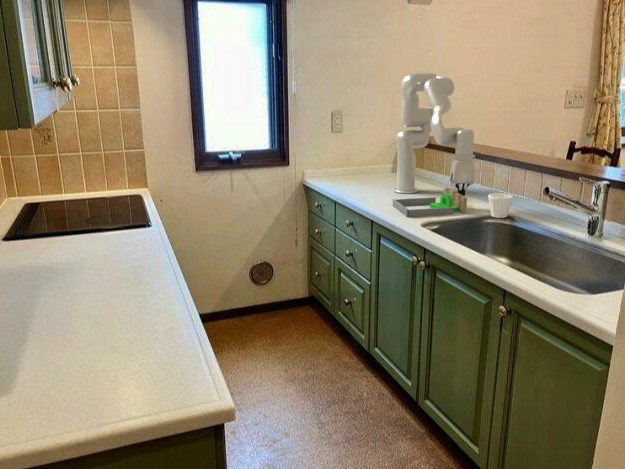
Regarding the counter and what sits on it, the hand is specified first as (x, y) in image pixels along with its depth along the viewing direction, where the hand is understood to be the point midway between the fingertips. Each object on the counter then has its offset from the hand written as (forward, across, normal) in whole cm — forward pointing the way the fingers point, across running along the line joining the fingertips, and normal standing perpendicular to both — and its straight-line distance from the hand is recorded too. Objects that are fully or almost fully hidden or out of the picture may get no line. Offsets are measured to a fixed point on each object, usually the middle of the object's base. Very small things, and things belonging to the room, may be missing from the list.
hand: (461, 197), depth 240 cm
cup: (+5, -9, +19) cm, 21 cm away
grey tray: (+4, +18, 0) cm, 18 cm away
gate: (+4, +3, 0) cm, 5 cm away
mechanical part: (+5, +9, +1) cm, 10 cm away
